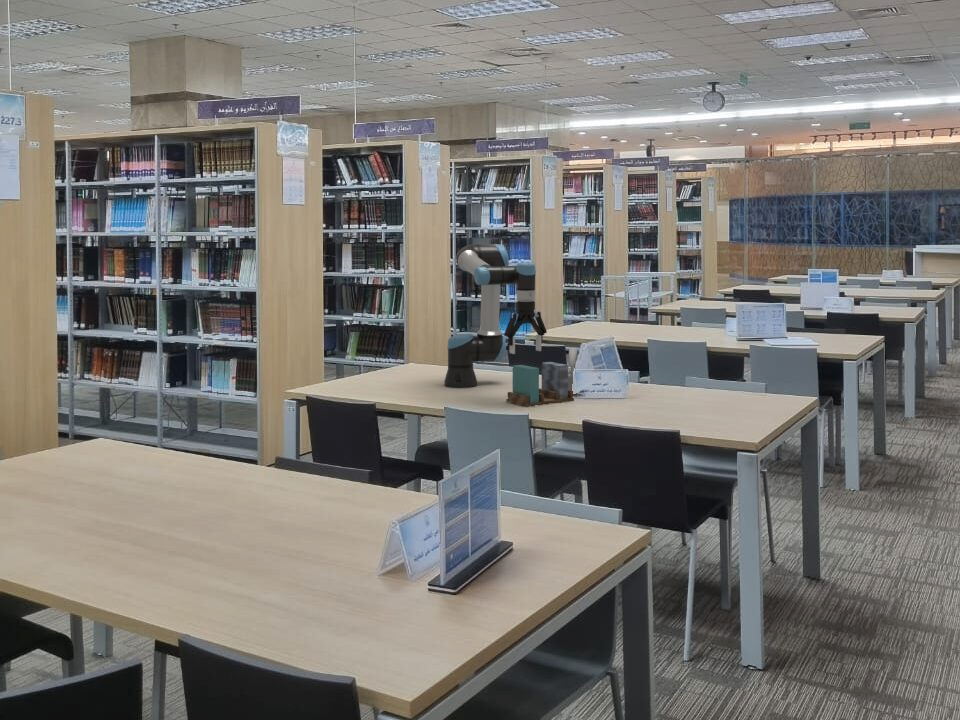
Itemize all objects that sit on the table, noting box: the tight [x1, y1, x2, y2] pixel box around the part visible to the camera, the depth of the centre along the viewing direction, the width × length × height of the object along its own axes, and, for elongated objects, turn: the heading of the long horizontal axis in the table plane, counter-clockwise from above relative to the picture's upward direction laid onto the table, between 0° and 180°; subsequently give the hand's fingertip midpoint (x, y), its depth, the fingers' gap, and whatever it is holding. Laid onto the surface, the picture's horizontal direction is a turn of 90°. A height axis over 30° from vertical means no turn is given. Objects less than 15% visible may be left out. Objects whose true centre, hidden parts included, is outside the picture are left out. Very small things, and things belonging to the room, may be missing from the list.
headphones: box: [568, 347, 579, 390], centre depth 428 cm, size 19×9×20 cm, turn 171°
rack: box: [505, 361, 575, 408], centre depth 409 cm, size 14×25×15 cm, turn 125°
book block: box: [512, 364, 540, 403], centre depth 405 cm, size 12×4×14 cm, turn 35°
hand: (525, 352), depth 403 cm, fingers open, 13 cm apart
